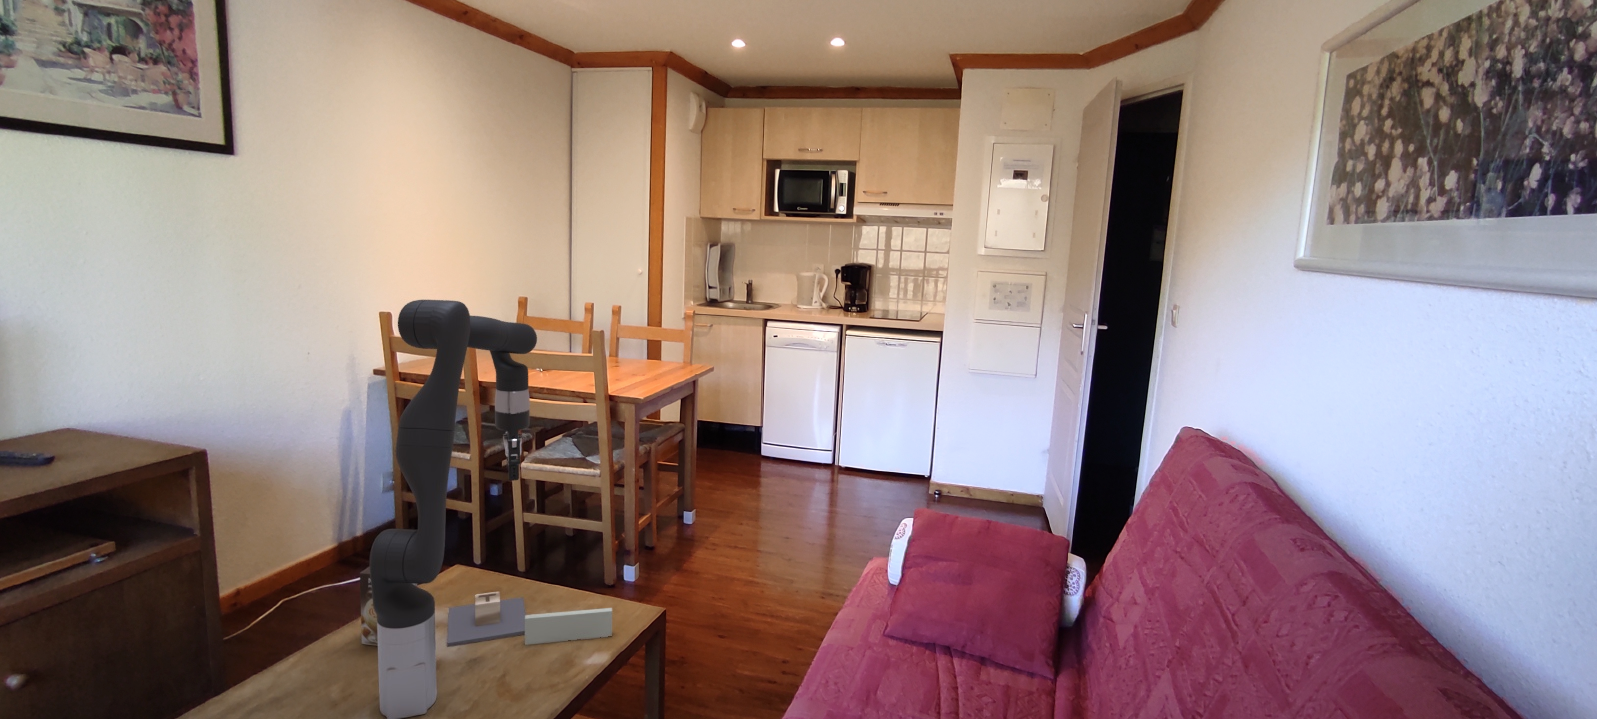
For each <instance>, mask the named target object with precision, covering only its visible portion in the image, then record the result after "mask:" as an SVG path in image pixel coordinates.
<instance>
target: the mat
mask: <svg viewBox="0 0 1597 719" xmlns="http://www.w3.org/2000/svg"><path fill="white" fill-rule="evenodd" d="M524 600H525V599H524V597H514V598H508V599H500V623H493V624H487V625H480V626H476V623H475V603H472V604H465V605H464V604H463V605H459V606H458V605H457V606H452V607H451V606H449V607H448V619H447V636H446V637H447V642H446V643H447V644H446V646H447V648H448V647H454V646H461V645H467V644H473V643H478V642H479V643H480V642H484V641H485V642H486V641H490V640H491V641H492V640H497V639H503V638H504V639H505V638H510V637H515V636H522V635H523V636H524V635H525V615H527V614H526V607H525V601H524Z"/></svg>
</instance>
